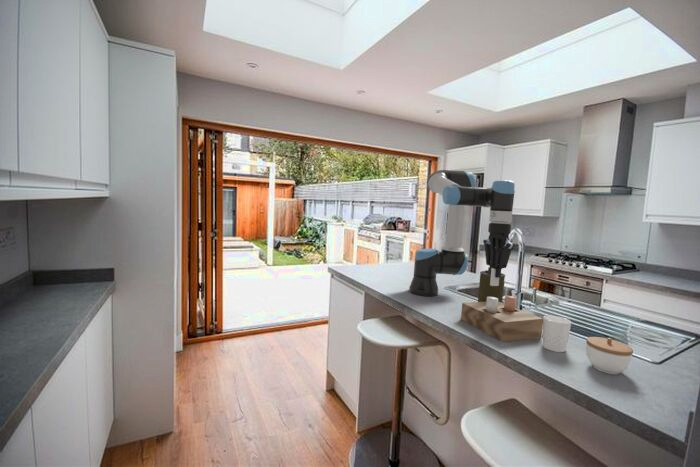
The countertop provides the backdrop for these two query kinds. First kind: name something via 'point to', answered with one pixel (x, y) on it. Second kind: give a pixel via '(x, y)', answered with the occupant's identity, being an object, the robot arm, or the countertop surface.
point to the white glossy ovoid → (491, 305)
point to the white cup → (555, 333)
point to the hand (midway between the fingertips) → (494, 285)
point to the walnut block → (502, 322)
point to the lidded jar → (608, 354)
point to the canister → (490, 287)
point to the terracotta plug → (510, 303)
